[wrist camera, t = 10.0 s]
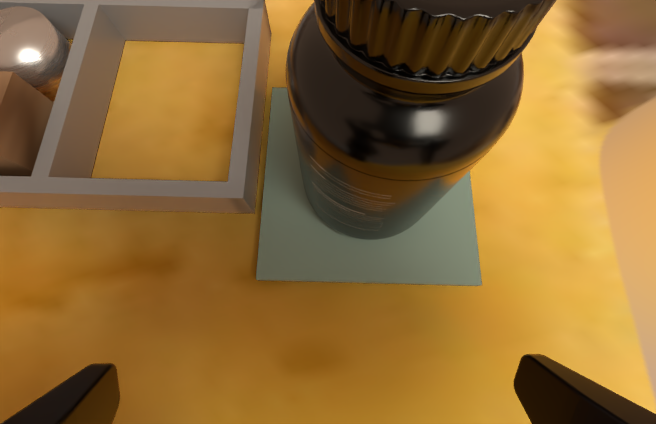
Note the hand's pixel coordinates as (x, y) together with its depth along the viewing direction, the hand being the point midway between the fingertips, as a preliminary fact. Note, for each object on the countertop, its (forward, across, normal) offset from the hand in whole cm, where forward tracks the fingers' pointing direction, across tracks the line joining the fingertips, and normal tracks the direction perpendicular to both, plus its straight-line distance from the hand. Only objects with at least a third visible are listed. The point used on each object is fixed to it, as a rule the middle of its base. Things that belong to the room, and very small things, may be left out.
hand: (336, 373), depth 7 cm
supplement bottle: (+11, -3, -2) cm, 12 cm away
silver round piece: (+18, +15, -6) cm, 24 cm away
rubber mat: (+12, -3, -2) cm, 12 cm away
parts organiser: (+16, +10, -4) cm, 19 cm away
